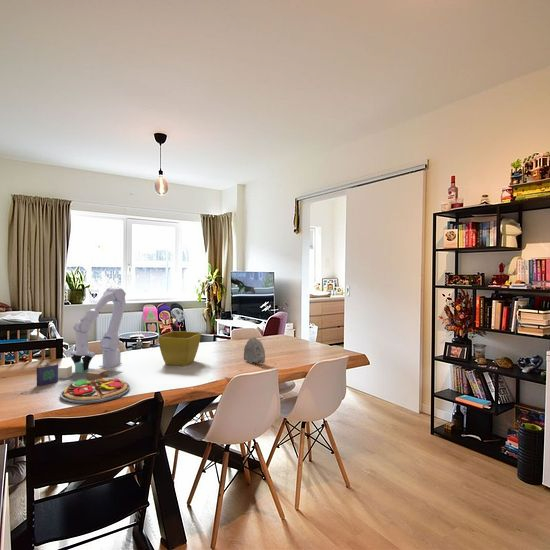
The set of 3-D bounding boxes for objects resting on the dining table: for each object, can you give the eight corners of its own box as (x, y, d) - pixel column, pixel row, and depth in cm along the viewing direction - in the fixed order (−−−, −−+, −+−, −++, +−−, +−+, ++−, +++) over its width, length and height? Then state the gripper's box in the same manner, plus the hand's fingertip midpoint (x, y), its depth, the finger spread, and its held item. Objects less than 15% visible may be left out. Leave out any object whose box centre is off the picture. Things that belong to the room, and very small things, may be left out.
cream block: (63, 375, 185) (63, 365, 185) (71, 375, 185) (71, 365, 185) (57, 377, 180) (57, 367, 180) (66, 378, 180) (66, 368, 180)
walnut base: (96, 374, 187) (96, 368, 187) (108, 375, 185) (108, 370, 185) (86, 378, 180) (86, 372, 180) (98, 379, 178) (98, 373, 178)
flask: (56, 381, 176) (56, 359, 176) (59, 382, 175) (59, 360, 174) (35, 386, 169) (35, 363, 169) (38, 387, 167) (38, 364, 167)
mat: (85, 368, 199) (85, 368, 199) (123, 372, 192) (123, 371, 192) (55, 379, 179) (55, 378, 179) (95, 383, 173) (95, 383, 173)
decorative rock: (242, 360, 221) (242, 336, 220) (251, 359, 224) (252, 335, 224) (257, 366, 207) (257, 340, 207) (266, 365, 211) (267, 339, 211)
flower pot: (187, 368, 203) (188, 338, 202) (156, 365, 207) (157, 336, 206) (201, 359, 221) (201, 332, 221) (172, 357, 225) (172, 330, 225)
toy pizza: (64, 409, 142) (64, 398, 142) (57, 389, 164) (57, 379, 164) (137, 395, 158) (137, 385, 158) (121, 378, 180) (121, 370, 180)
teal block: (81, 370, 195) (81, 360, 195) (88, 370, 194) (88, 361, 193) (75, 372, 190) (75, 362, 190) (82, 373, 189) (82, 363, 189)
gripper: (64, 344, 190) (64, 370, 190) (87, 346, 186) (87, 372, 186) (75, 341, 197) (75, 366, 197) (97, 343, 193) (97, 369, 193)
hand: (81, 369), depth 192 cm, fingers closed on teal block, 4 cm apart
